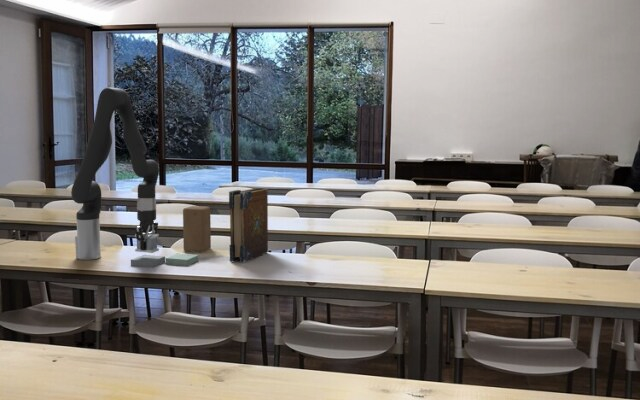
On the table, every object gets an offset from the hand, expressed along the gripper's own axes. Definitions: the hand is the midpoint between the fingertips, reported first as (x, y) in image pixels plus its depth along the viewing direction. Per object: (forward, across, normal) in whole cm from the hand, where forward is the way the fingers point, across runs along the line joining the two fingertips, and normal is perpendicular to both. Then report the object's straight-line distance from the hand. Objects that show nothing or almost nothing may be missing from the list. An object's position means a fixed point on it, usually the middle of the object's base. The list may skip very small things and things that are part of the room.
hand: (147, 248), depth 249 cm
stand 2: (+6, -7, +12) cm, 16 cm away
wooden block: (+6, -32, +6) cm, 33 cm away
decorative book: (+6, -26, +36) cm, 44 cm away
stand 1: (+6, 0, 0) cm, 6 cm away
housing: (+1, 0, 0) cm, 1 cm away
